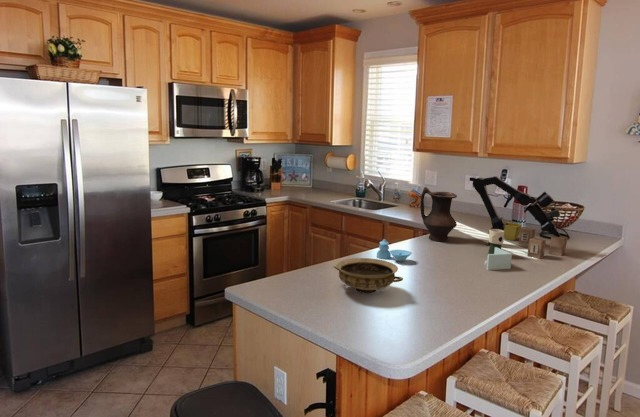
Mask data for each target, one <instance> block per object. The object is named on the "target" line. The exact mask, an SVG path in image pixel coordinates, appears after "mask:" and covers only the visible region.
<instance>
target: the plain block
mask: <svg viewBox="0 0 640 417" xmlns="http://www.w3.org/2000/svg"><path fill="white" fill-rule="evenodd" d="M567 243H568V236H563V235H560V236H559V237H558V236H556V235H554V234H552V236H551V237H550V244H549V248H548V254H552V255H557V256H563V255H565V254H566V248H567Z"/></svg>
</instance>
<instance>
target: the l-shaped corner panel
mask: <svg viewBox="0 0 640 417" xmlns="http://www.w3.org/2000/svg"><path fill="white" fill-rule="evenodd" d="M512 255H513V254H512V253H511V252H509V251H506V250H503V249H502V248H501V249H499V248H497V247H495V250H494V254H488V253H487V258H486V260H484V266H486V269H485V270H487V271H495V270H497V271H498V270H510V269H511V267H512V258H513V257H512Z"/></svg>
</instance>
